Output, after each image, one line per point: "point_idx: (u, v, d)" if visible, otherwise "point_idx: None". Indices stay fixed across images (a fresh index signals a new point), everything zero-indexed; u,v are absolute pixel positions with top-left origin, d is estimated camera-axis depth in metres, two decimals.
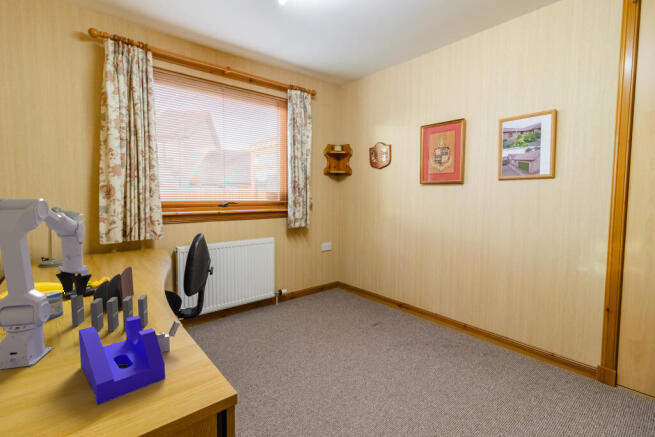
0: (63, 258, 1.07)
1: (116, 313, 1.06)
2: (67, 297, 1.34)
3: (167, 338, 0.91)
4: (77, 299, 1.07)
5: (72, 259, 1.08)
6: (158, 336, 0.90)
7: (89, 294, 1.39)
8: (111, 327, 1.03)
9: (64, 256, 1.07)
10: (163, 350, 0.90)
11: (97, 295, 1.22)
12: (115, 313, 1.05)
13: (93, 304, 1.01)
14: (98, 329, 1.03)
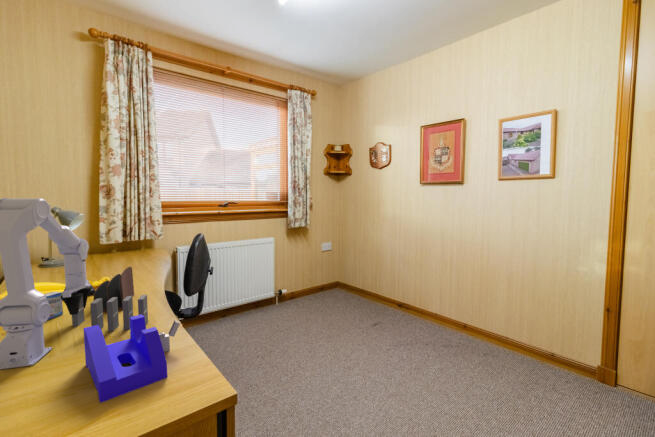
0: None
1: (116, 313, 1.06)
2: None
3: (167, 338, 0.91)
4: None
5: (67, 277, 1.05)
6: None
7: (89, 294, 1.39)
8: (111, 327, 1.03)
9: (65, 273, 1.07)
10: (163, 350, 0.90)
11: (97, 295, 1.22)
12: (115, 313, 1.05)
13: (93, 304, 1.01)
14: None
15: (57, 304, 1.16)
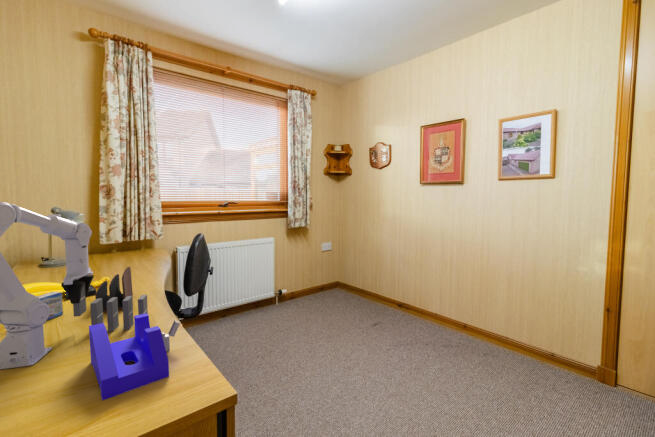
0: None
1: (116, 313, 1.06)
2: (68, 297, 1.34)
3: (167, 338, 0.91)
4: None
5: (68, 264, 0.99)
6: None
7: (90, 294, 1.39)
8: (111, 327, 1.03)
9: (66, 260, 1.00)
10: None
11: (99, 295, 1.22)
12: (115, 314, 1.05)
13: (93, 304, 1.01)
14: None
15: (57, 304, 1.16)
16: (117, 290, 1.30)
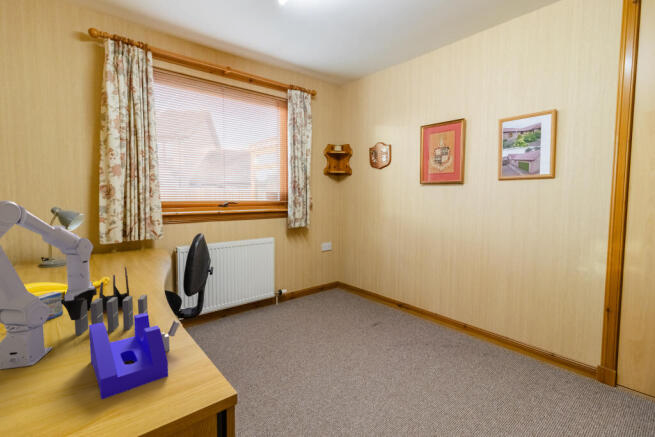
0: None
1: (116, 313, 1.06)
2: None
3: (167, 338, 0.91)
4: None
5: (70, 279, 0.99)
6: None
7: None
8: (111, 327, 1.03)
9: (67, 275, 1.00)
10: None
11: (101, 296, 1.21)
12: (115, 314, 1.05)
13: (93, 304, 1.01)
14: None
15: (57, 304, 1.15)
16: (116, 290, 1.30)
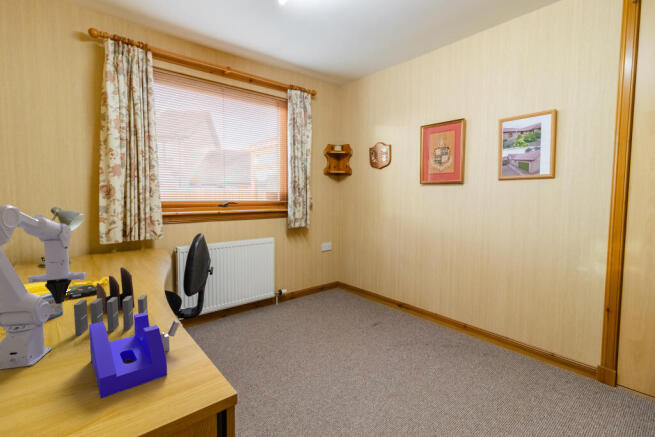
0: (53, 264, 0.97)
1: (116, 313, 1.06)
2: (69, 297, 1.34)
3: (167, 338, 0.91)
4: (81, 306, 1.01)
5: (64, 264, 0.99)
6: None
7: (91, 294, 1.39)
8: (111, 327, 1.03)
9: (55, 262, 0.97)
10: None
11: None
12: (115, 314, 1.05)
13: (93, 304, 1.01)
14: None
15: (57, 304, 1.16)
16: None
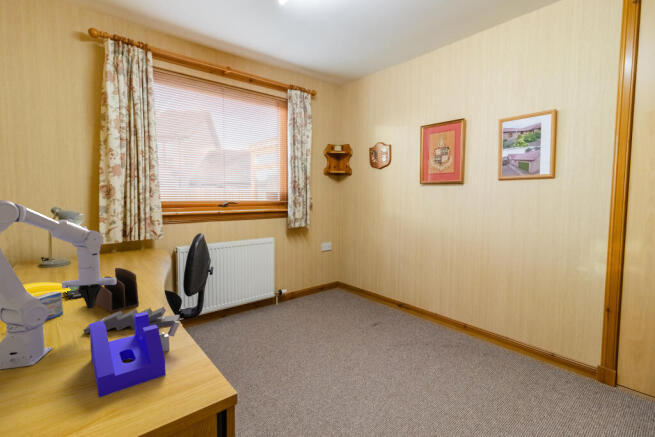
0: (85, 270, 1.00)
1: None
2: (70, 297, 1.34)
3: (167, 338, 0.91)
4: None
5: (96, 270, 1.02)
6: None
7: None
8: (120, 327, 1.04)
9: (87, 268, 1.00)
10: (163, 350, 0.90)
11: None
12: None
13: (131, 317, 1.05)
14: None
15: (57, 304, 1.15)
16: None
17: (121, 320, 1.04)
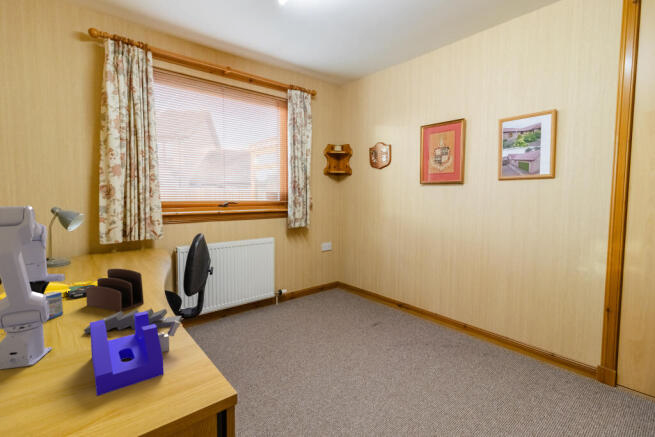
0: (29, 266, 0.95)
1: None
2: (71, 297, 1.34)
3: (167, 338, 0.91)
4: None
5: (41, 266, 0.97)
6: None
7: None
8: (121, 327, 1.04)
9: (31, 263, 0.95)
10: (163, 350, 0.90)
11: None
12: None
13: (131, 317, 1.05)
14: None
15: (57, 304, 1.16)
16: None
17: (122, 320, 1.04)
